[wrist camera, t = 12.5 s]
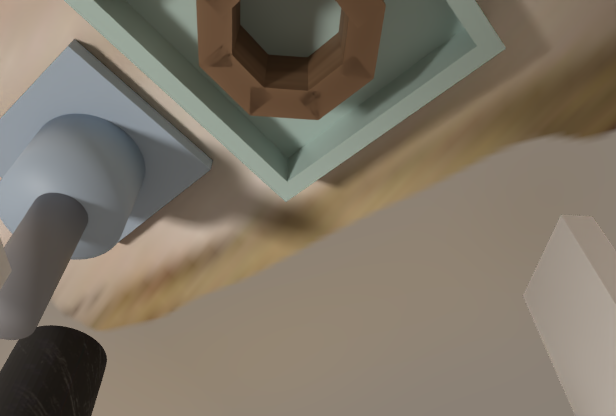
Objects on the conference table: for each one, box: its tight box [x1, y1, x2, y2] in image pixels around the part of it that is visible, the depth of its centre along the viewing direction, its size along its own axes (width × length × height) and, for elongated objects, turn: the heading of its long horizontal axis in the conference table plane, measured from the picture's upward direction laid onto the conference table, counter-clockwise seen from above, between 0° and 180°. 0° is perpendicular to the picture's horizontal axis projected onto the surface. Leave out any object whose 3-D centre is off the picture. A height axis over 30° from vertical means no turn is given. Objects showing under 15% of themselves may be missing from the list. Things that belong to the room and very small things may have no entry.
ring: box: [196, 0, 386, 120], centre depth 25 cm, size 8×8×4 cm
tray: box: [64, 0, 506, 202], centre depth 26 cm, size 15×14×3 cm
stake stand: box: [0, 39, 213, 340], centre depth 28 cm, size 10×10×13 cm
